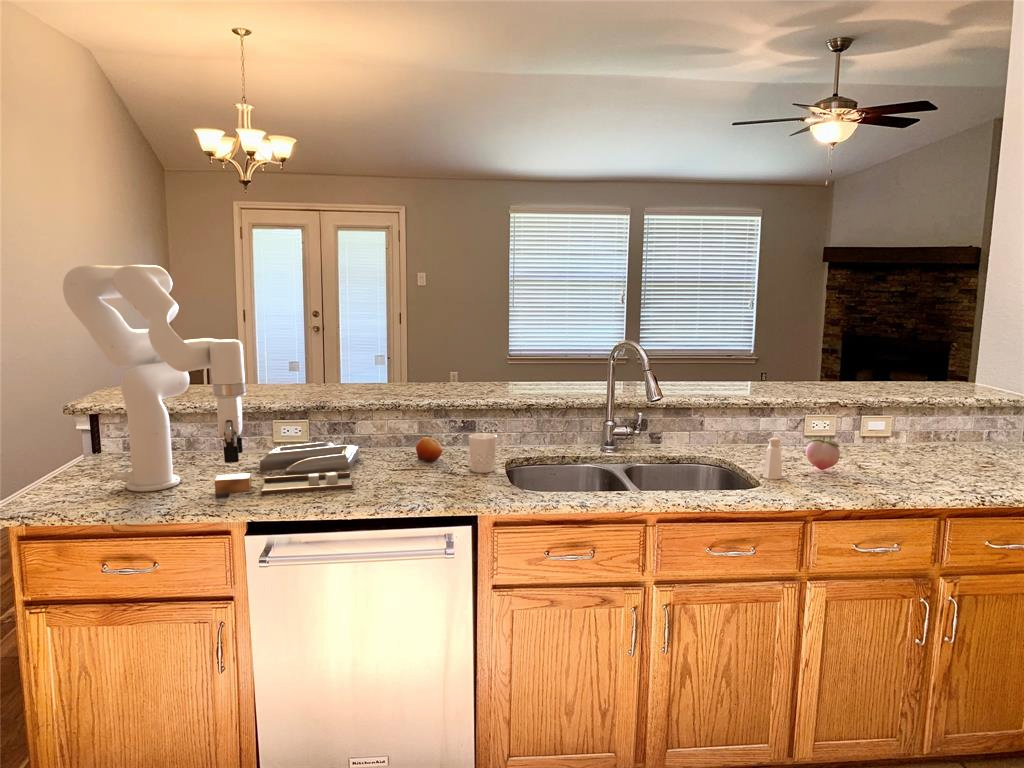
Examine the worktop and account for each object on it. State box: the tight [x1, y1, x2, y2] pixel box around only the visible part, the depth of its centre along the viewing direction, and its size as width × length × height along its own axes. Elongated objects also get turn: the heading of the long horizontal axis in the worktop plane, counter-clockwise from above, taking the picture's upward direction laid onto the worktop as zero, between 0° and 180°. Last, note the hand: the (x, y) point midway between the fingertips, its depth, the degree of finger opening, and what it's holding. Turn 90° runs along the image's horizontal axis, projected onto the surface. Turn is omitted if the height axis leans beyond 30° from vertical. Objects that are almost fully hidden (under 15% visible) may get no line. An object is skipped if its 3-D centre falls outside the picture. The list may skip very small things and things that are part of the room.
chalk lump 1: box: [309, 473, 320, 486], centre depth 181 cm, size 2×2×2 cm
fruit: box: [415, 436, 443, 463], centre depth 210 cm, size 8×8×8 cm
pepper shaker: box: [762, 437, 783, 480], centre depth 196 cm, size 5×5×11 cm
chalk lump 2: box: [324, 471, 338, 485], centre depth 183 cm, size 2×2×2 cm
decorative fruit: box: [805, 436, 841, 471], centre depth 204 cm, size 9×8×10 cm
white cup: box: [468, 432, 497, 474], centre depth 200 cm, size 8×8×10 cm
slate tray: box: [260, 471, 353, 496], centre depth 181 cm, size 22×12×2 cm, turn 106°
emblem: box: [259, 441, 360, 476], centre depth 202 cm, size 28×5×28 cm
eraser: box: [214, 473, 252, 499], centre depth 176 cm, size 8×4×4 cm, turn 106°
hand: (234, 457), depth 175 cm, fingers open, 9 cm apart
